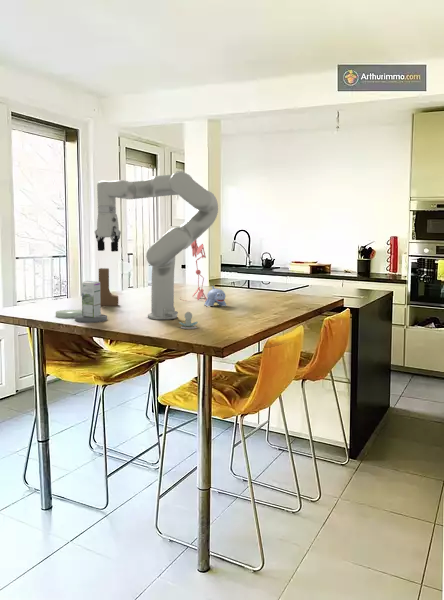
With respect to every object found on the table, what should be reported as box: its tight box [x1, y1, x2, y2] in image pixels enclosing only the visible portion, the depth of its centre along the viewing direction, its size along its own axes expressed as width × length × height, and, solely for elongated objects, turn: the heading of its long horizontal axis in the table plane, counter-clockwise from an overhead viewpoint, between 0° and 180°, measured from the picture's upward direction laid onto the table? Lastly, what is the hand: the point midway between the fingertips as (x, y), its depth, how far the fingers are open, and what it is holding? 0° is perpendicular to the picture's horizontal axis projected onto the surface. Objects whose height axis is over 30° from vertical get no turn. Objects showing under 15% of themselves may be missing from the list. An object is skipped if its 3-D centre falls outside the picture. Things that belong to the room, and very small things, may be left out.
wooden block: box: [98, 267, 119, 307], centre depth 258 cm, size 9×4×18 cm, turn 96°
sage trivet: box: [55, 309, 82, 319], centre depth 228 cm, size 12×12×2 cm
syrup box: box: [81, 280, 102, 318], centre depth 218 cm, size 6×6×14 cm
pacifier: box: [178, 311, 198, 330], centre depth 206 cm, size 7×6×6 cm
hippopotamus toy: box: [204, 285, 228, 308], centre depth 264 cm, size 11×15×10 cm
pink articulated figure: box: [179, 239, 208, 302], centre depth 286 cm, size 15×26×35 cm, turn 12°
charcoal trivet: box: [74, 313, 108, 324], centre depth 219 cm, size 13×13×2 cm
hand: (107, 251), depth 228 cm, fingers open, 9 cm apart
